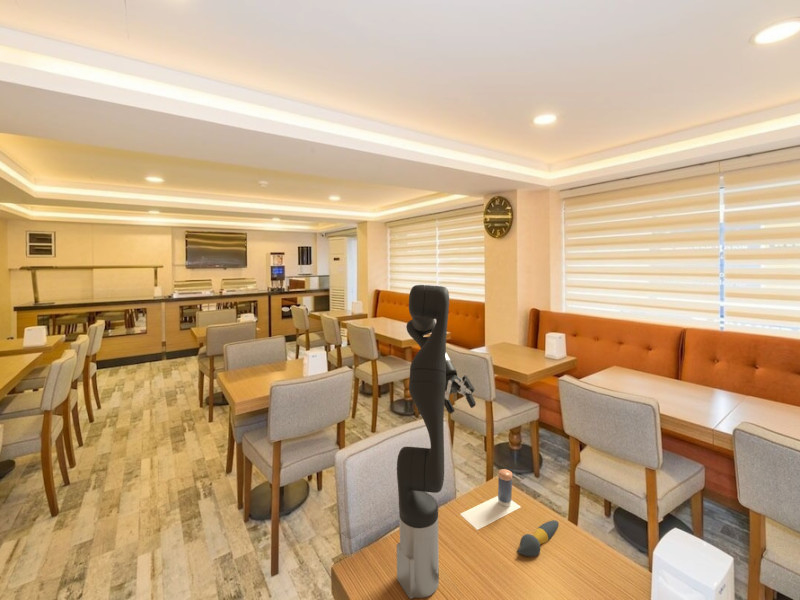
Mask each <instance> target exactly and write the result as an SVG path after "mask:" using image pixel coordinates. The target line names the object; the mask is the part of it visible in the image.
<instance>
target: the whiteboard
mask: <svg viewBox="0 0 800 600" xmlns="http://www.w3.org/2000/svg"><path fill="white" fill-rule="evenodd" d="M520 508H522V507H521V505H519V504H518V503H516V502H515V501H513V499H511V505H510V506H509V507H502V506H501V505H499V503H498V495H496V496H494V497H491V498H490V499H488V500H486V501H484V502H481V503H479V504H478V505H475V506H474V507H471V508H470V509H468V510H465V511H463V512H461V513H459V515H460V516H461V517H462V518H463V519H465V520H466V521H467V522H468V524H469V525H471V526H472V527H473V528H475V530H476V531H478V530H480V529H482V528H484V527H486V526H488V525H490V524H491V523H493V522H496V521H497V520H500V519H501V518H503V517H505V516H507V515H509V514H511V513H513V512H515V511H516V510H519V509H520Z"/></svg>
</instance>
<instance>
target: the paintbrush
mask: <svg viewBox="0 0 800 600" xmlns="http://www.w3.org/2000/svg"><path fill="white" fill-rule="evenodd" d="M559 525H560V524H559V521H558V520H555V519H553V520H552V519H551V520H549V521H545V522H544V523H542V524H541V525H540V526H538V527H537V528H536V529H535V531H534V533H533V534H530V533H527V534H524V535H522V536H521V539H520V542H519V548H518V550H517V551H516V553H518V554H520V555H523V556H525V557H530V558H533V557H537V556H538V555H539V554H540V553H541V545H542V544H545V543H547V542H549V541H550V540H551V539H552V538H553V536H554V535H555V534H556V532H557V530H558V528H559Z"/></svg>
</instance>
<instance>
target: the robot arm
mask: <svg viewBox="0 0 800 600" xmlns="http://www.w3.org/2000/svg"><path fill="white" fill-rule="evenodd" d="M449 307H450V293H449V289H448V288H447V287H446V286H439V285H430V284H425V285H424V284H417V285H413V286H412V287H411V289H410V292H409V296H408V311H409V314H410V317H411V319H410V320H408V321H407V322H406V326H405V327H406V332H407V333H408V335H409V336H410V337H411V338H412V339H413V341H415V343H416V344H417V345H418V346H419V347H420V349H419V351H418V352H417V353H416V354H415V356H414V357H413V359H412V360H411V363H410V367H409V380H408V381H409V383H408V391H409V395H410V397H411V399H412V402H413V403H414V405H415V407H416V408H417V411H418V412H419V415H420V416H421V418H422V420H423V422H424V424H425V427H426V430H427V433H428V437H429V441H430V447H429V448H428V447H418V446H403V447H402V448H401V449H400V450H399V453H398V456H397V458H396V459H397V460H396V479H397V481H396V482H397V491H398V494H397V495H398V508H399V512H398V514H399V542H398V543H396V581H397V582H398V583H399V585H400V586H401V588H402V589H403V591H404V593H405V594H406V595H407V597H408V598H409V600H413V599H414V598H415V599H416V598H417V599H418V598H420V599H422V598H428V597H430V596H431V595H433V594H434V593H435V592H436V591H437V589H438V587H439V581H440V580H439V579H440V577H439V576H440V574H439V573H440V570H439V568H440V567H439V566H440V565H439V560H440V559H439V557H440V556H439V505H438V502H437V500H436V499H435V497H434V496H432V495H431V494H430V493H440V492H441V491H442V488H443V486H444V481H445V443H444V442H445V441H444V440H445V436H444V435H445V433H444V432H445V431H444V426H445V425H444V418H445V415H444V414H445V410H446V412H448V413H449V414H451V415H452V414H453V413H454V412H455V408H454V406H453V404H452V402H451V400H450V399H449V397H450V395H451V394H457V393H458V394H460V395H462V396H464V397H465V399H466V401H467V403H468V405H469V407H470V408H472V409H473V408H474V407H475V406H476V405H477V402H476V400H475V398H474V397H473V393H474V392H475V390H476V389H475V387H474V386H473V384H472V382H471V380H470V379H469V376H467V375H465V374H464V376H462V377H459V375H458V372H457V369H456V368H455V365H454V364H453V361H452V360H451V358H450V356H449V355H448V353H447V333H448V332H447V331H448V321H449ZM429 334H430V335H429ZM427 335H429V336H427Z"/></svg>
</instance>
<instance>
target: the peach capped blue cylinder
mask: <svg viewBox="0 0 800 600" xmlns="http://www.w3.org/2000/svg"><path fill="white" fill-rule="evenodd" d="M497 486H498V488H497V491H498V492H497V496H498V503H499V505H501V506H502V507H509V506H510V505H511V500H512V495H513V494H512V492H513V472H512V471H510V469H506V468H502V469H501V468H500V469H499V470H498V485H497Z"/></svg>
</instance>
